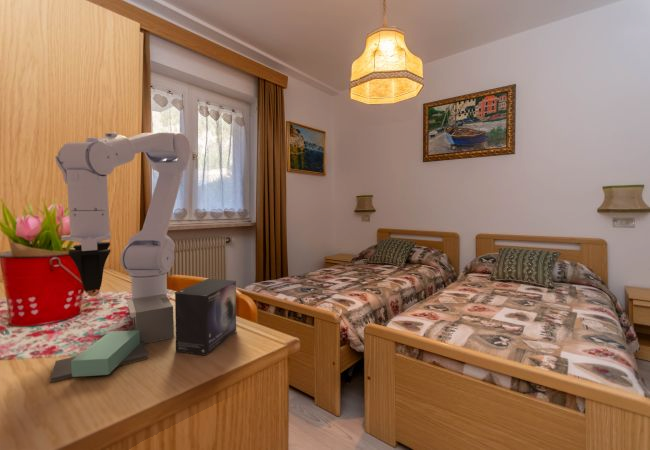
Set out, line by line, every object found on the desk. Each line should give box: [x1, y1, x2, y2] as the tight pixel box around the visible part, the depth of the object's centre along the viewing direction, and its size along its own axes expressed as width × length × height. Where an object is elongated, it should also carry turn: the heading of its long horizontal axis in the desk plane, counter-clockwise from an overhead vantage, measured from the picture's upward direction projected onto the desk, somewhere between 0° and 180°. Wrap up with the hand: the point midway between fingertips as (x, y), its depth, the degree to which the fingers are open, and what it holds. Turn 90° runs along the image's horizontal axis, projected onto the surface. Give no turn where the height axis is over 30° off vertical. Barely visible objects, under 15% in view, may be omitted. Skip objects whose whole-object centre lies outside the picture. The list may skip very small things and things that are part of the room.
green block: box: [71, 329, 140, 378], centre depth 50 cm, size 2×10×5 cm
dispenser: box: [126, 294, 175, 345], centre depth 61 cm, size 10×7×6 cm
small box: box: [174, 277, 237, 356], centre depth 57 cm, size 11×6×10 cm, turn 168°
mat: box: [49, 341, 148, 383], centre depth 50 cm, size 6×12×1 cm, turn 125°
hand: (93, 285), depth 57 cm, fingers open, 7 cm apart
